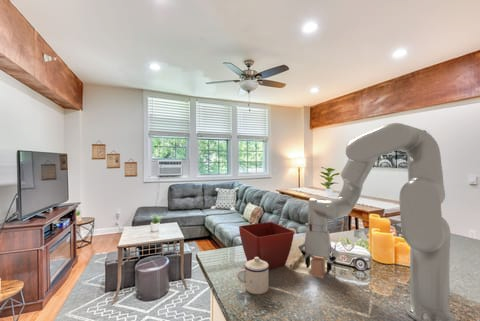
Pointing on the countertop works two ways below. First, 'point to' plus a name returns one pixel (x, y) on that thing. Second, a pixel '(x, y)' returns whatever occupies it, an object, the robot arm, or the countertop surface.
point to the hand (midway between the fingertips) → (318, 268)
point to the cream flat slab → (304, 266)
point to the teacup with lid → (256, 276)
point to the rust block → (317, 266)
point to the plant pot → (267, 243)
